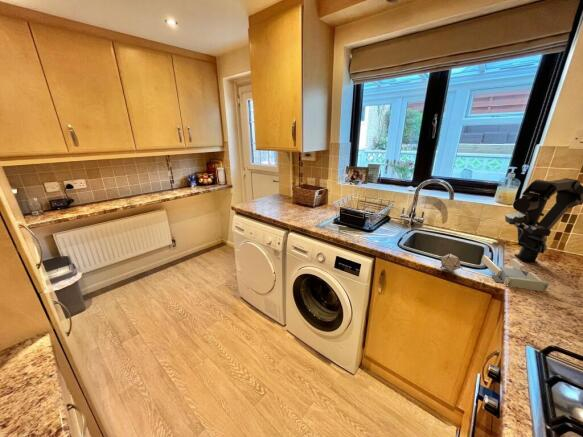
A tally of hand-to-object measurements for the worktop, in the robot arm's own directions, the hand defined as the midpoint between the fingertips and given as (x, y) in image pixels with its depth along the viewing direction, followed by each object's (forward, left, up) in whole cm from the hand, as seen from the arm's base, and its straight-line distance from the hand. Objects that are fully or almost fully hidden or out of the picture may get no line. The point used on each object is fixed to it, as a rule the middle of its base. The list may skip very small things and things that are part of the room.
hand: (519, 240), depth 109 cm
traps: (+13, -6, -12) cm, 19 cm away
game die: (+14, -32, -12) cm, 37 cm away
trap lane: (+11, -6, -12) cm, 17 cm away
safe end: (+20, -6, -12) cm, 24 cm away
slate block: (+16, -8, -12) cm, 21 cm away
